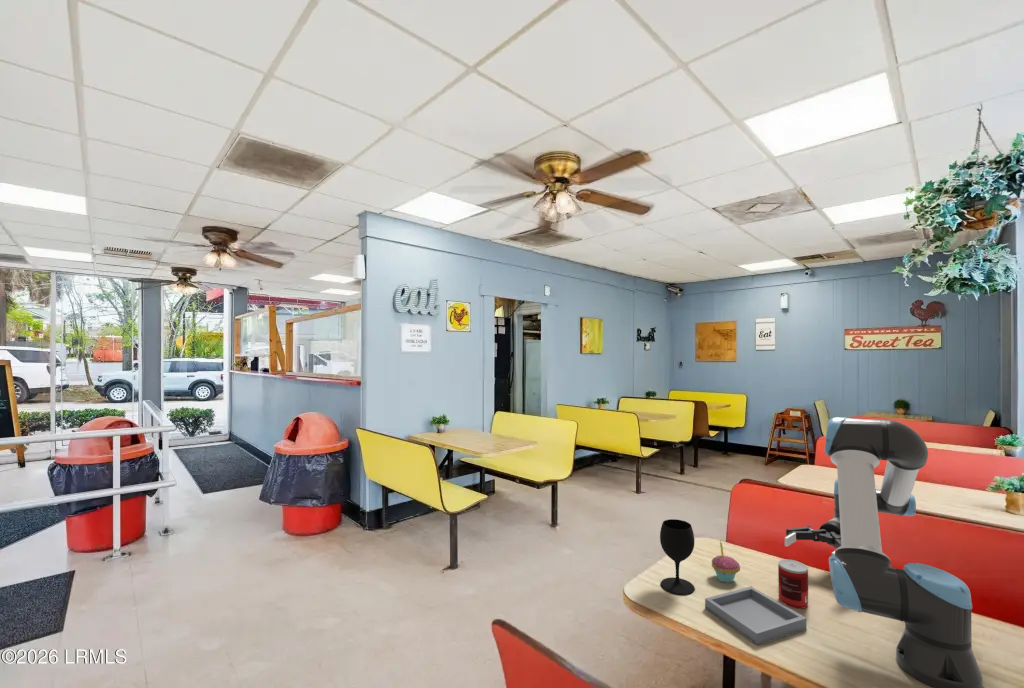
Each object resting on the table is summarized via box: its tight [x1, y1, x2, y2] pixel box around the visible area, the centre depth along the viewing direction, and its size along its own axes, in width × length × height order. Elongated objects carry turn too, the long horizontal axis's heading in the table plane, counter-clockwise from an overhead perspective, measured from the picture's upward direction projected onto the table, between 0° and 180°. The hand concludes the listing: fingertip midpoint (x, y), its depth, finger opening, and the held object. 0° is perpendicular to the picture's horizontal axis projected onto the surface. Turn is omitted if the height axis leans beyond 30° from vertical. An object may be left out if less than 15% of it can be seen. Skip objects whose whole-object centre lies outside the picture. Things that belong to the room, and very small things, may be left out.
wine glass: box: [659, 518, 696, 596], centre depth 151 cm, size 10×10×20 cm
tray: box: [704, 586, 807, 646], centre depth 133 cm, size 18×18×3 cm
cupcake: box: [711, 540, 741, 583], centre depth 155 cm, size 9×8×12 cm
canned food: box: [777, 558, 809, 609], centre depth 142 cm, size 8×8×11 cm
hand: (808, 549), depth 148 cm, fingers open, 13 cm apart
